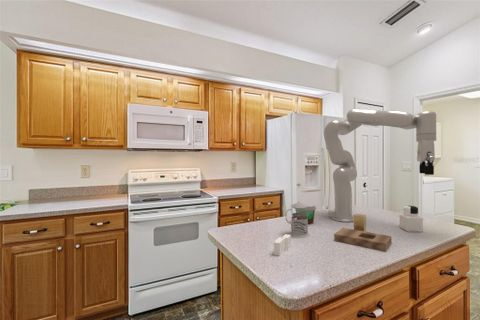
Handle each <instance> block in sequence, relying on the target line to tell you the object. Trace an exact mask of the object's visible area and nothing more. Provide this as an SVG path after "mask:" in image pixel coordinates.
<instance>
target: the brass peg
mask: <svg viewBox="0 0 480 320" xmlns="http://www.w3.org/2000/svg"><path fill="white" fill-rule="evenodd" d="M353 217H354V221H353V230H359V231H364V232H367V214H362V213H355V214H353Z"/></svg>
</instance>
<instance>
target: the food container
mask: <svg viewBox="0 0 480 320" xmlns="http://www.w3.org/2000/svg"><path fill="white" fill-rule="evenodd" d="M307 206H308V205H307ZM293 209H294V210H295V213H299V212H300V213H304V214H306V215H307V216H305V217H307V218H308V225H312V224H314V223H315V222H314V221H315V212H316V210H317V208H316V205H313V206H308V207H307V208H306V209H296V208H293ZM296 219H299V220H302V219H300V218H296ZM302 224H303V223H302Z"/></svg>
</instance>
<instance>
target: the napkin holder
mask: <svg viewBox="0 0 480 320" xmlns="http://www.w3.org/2000/svg"><path fill="white" fill-rule="evenodd" d="M291 247H292V236H291V235H290V234H288V233H286V234H284V235H283V236H279V237H278V238H277V239H275V241H273V256H277V255H279V257H280V256H282V254H283V253H284V252H285V251H288V250H289V249H290V248H291ZM283 251H284V252H283Z"/></svg>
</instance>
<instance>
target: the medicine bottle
mask: <svg viewBox="0 0 480 320" xmlns="http://www.w3.org/2000/svg"><path fill="white" fill-rule="evenodd" d="M402 211H403V213H400V214H399V228H400V229H401V230H404V231H406V232H409V233H411V232H412V233H423V232H424V227H423V226H424V224H423V223H424V220H423V219H424V218H423V217H421V216H419V207H418V206H415V205H404V206H403V210H402Z"/></svg>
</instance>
